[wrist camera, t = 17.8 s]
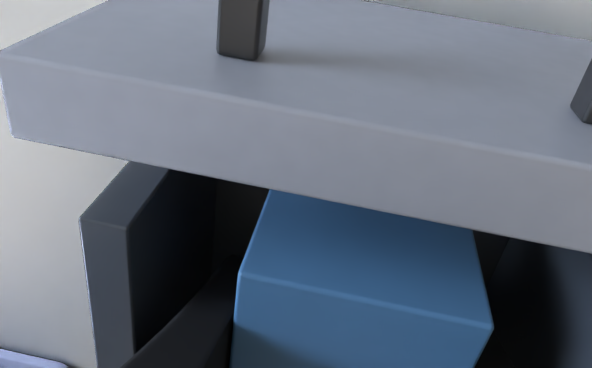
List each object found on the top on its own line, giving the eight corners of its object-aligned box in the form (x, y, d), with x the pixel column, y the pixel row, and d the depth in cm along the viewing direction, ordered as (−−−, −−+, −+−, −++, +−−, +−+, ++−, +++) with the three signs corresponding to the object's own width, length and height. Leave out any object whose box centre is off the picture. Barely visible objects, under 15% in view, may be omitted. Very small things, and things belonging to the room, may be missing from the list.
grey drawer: (177, -319, 9) (-138, -599, 4) (796, -232, 8) (1529, -417, 3) (174, 336, 18) (86, 528, 13) (464, 400, 18) (496, 630, 12)
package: (257, 322, 13) (220, 449, 10) (278, 162, 11) (236, 272, 8) (406, 355, 13) (411, 494, 10) (467, 199, 10) (496, 328, 8)
